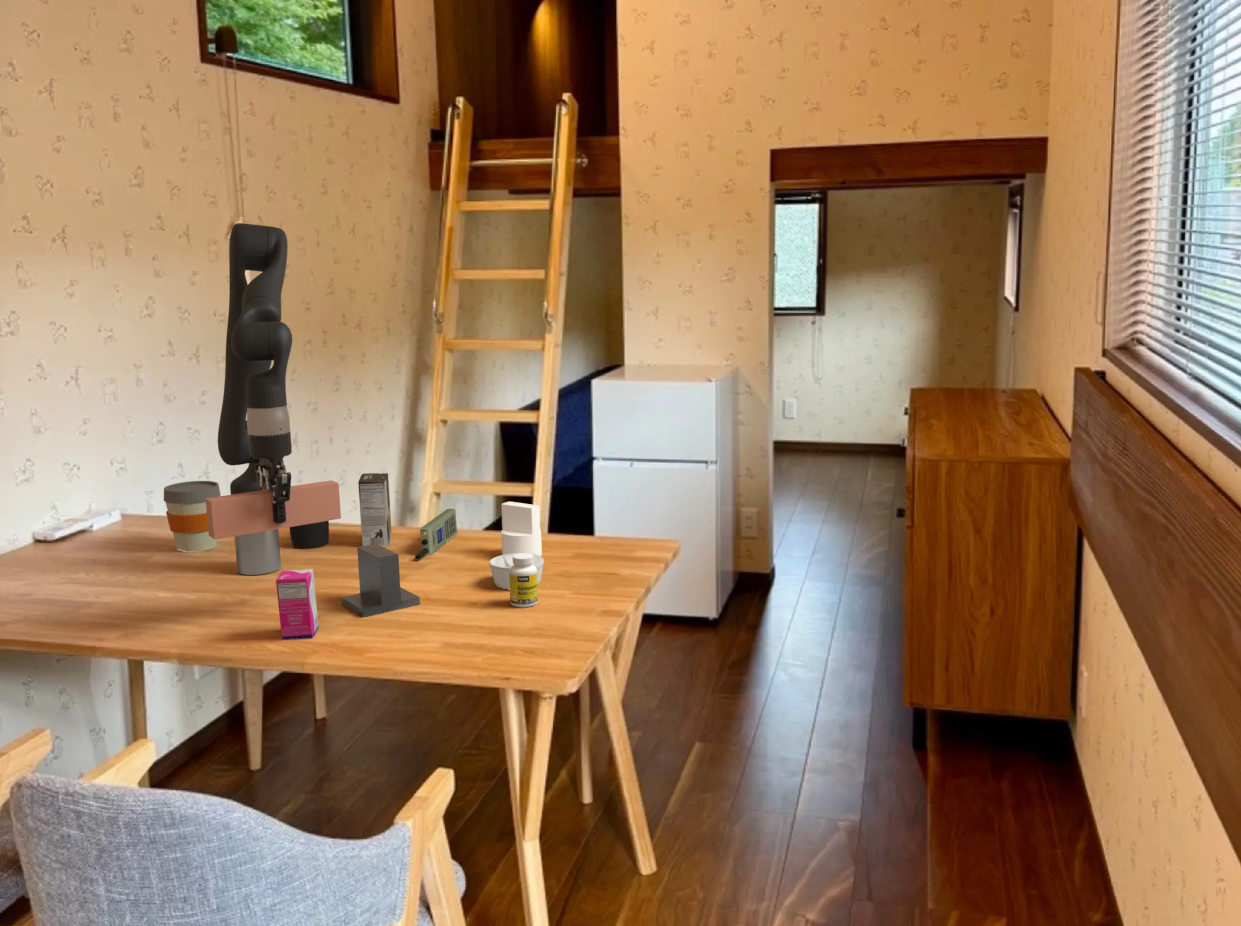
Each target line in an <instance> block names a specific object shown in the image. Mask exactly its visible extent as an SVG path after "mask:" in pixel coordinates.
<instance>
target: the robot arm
mask: <svg viewBox="0 0 1241 926" xmlns="http://www.w3.org/2000/svg"><path fill="white" fill-rule="evenodd" d="M288 245H289V244H288V237H287V234H286V232H285V230H283V229H282V228H279V227H278V226H277V227H275V226H269V225H268V226H267V225H262V224H261V225H260V224H254V223H253V224H252V223H243V222H241V223H240V222H237V223H235V224H234V225H233V226H232V227H231V231H230V235H229V245H228V247H229V248H228V249H229V251H228V255H229V256H228V259H229V260H228V261H229V263H228V264H229V265H228V268H229V269H228V270H229V271H228V272H229V275H228V276H229V277H228V278H229V281H228V282H229V283H228V284H229V285H228V286H229V288H228V289H229V290H228V291H229V295H228V297H229V298H228V299H229V300H228V302H229V303H228V316H227V327H226V339H225V364H224V366H225V368H224V369H225V370H224V382H223V383H224V387H223V396H222V405H221V409H220V411H221V412H220V417H219V424H218V429H217V430H218V431H217V449H218V453H219V456H220V458H221V461H223V463H224V464H226V465H227V466H240V465H245V464H248V466H247V468H246V470H245V471H244V472H243V473H241V475H239V476H238V477H236V478H234V479H233V480H232V481H231V482H230V486H229V490H230V495H233V494H240V493H247V492H254V491H261V490H267V491H268V492H270V493H271V502H272V508H273V521H274V523H276V524H278V523H284V522H286V510H285V503H286V501H289V500H290V488H291V486H292V474H291V472H290V471H289V472H287V467H286V465H285V463H284V458H285V457H287V456H290V455H292V451H293V449H292V435H291V422H290V415H289V409H288V399H287V391H286V390H287V387H286V377H287V369H288V363H289V360H290V359H289V358H290V355H291V350H292V345H293V334H292V331H291V329H290V327H289V326H288V325H287V324H286V323H284V322H283V321H282V290H283V287H284V282H285V281H284V280H285V275H286V270H287V262H288V261H287V260H288V247H289V246H288ZM246 271H251V272H261V273H259V274H258V275H256V276H255V277H254V278H253V279H252V280H251V281H250V282H249V283H248V281H247V277H246V276H247V275H246ZM272 361H273V362H272ZM272 363H273V364H272ZM280 492H281V495H280ZM279 534H280V532H279V529H275V530H269V531H263V532H257V533H251V534H245V535H239V536H233V537H234V545H235V546H234V547H235V559H236V569H237V573H238V574H241V575H246V576H249V575H250V576H252V575H255V576H257V575H265V574H270V573H274V572H277V571H279V570H280V569H281V568H282V563H281V562H282V559H281V549H280V548H281V547H280V535H279Z"/></svg>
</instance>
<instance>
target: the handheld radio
mask: <svg viewBox="0 0 1241 926" xmlns="http://www.w3.org/2000/svg"><path fill="white" fill-rule="evenodd" d="M457 524H458V523H457V513H456V509H455V508H447V509H444V510H443V511H442V512H441V513H439V514H438V515H437V516H435V517H434V518H433V519H431V520H430V521H428V522H427V523H426V524H424V525H422V526H421V527H420V528H419V533H420V542H421V543H420V544H421V545H420V546H421V551H419V552H417V554H415V555H414V558H415V560H416V561H420V560H421V559H422V558H423V557H425V556H431V555H430V554H432V555H433V554H434V553H436V552H437V551H438V550H440V548H441V546H442V545H443V546H445V544H447V543H448V542H449V541H450V540H451V538H452V536H454V537H456V535H457V534H458V526H457ZM456 533H457V534H456ZM455 534H456V535H455ZM452 539H453V538H452ZM448 540H449V541H448ZM447 541H448V542H447ZM446 542H447V543H446ZM443 546H442V547H443ZM426 554H427V555H426Z"/></svg>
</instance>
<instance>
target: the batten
mask: <svg viewBox="0 0 1241 926" xmlns="http://www.w3.org/2000/svg"><path fill="white" fill-rule="evenodd" d="M339 485H340V484H339V483H338V482H337V481H335V480H332V479H331V480H326V481H325V480H324V481H317V482H316V481H315V482H311V483H303V484H297V485H291V488H290V500H289V501H286V503H285V510H286V522H284V523H278V524H276V523H274V521H273V508H272V502H271V493H270V492H268V491H267V490H261V491H254V492H247V493H240V494H233V495H231V494H228V495H227V494H225V495H220V496H219V497H212V498H205V500H206V511H207V522H208V533H209V536H210V537H212V538H213V539H217V540H219V539H224V538H233V537H234V536H239V535H245V534H251V533H257V532H263V531H269V530H275V529H278V530H281V529H287V528H289V527H293V526H299V525H305V524H311V523H317V522H323V521H329V522H330V521H335V520H341V519H342V516H341V515H342V513H341V501H340V499H341V498H340V497H341V496H340V486H339ZM280 495H281V492H280Z"/></svg>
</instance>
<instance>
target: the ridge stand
mask: <svg viewBox="0 0 1241 926" xmlns="http://www.w3.org/2000/svg"><path fill="white" fill-rule="evenodd" d="M356 549H357V566H358V578H359V580H358V581H359V593H354V594H351V595H346V596H342V597H341V598H340V599H341V605H342V606H343V607H345V608H347V609H349V610H350V611H352V612H353V613H355V614H356V615H358V616H360V617H362V618H366V617H371V616H375V615H380V614H384V613H388V612H392V611H396V610H401V609H404V608H409V607H414V606H419V605H420V604H421V598H420V596H418V595H416V594H414V593H413V592H410V591H409V590H407V589H406V588H403V587H401V578H400V577H401V576H400V560H399V559H400V557H399V553H397V552H395V551H392V550H390V549H388V548H387V547H382V546H380V545H377V544H372V545H367V546H362V545H361V546H357V548H356Z"/></svg>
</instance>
